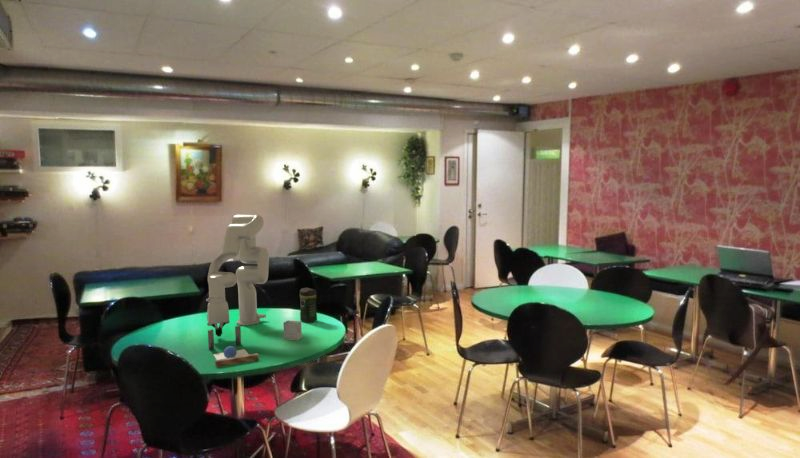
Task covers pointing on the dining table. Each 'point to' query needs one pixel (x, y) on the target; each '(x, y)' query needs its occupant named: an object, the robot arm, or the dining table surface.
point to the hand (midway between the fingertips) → (218, 335)
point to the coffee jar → (308, 305)
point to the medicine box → (292, 330)
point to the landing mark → (239, 353)
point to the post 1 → (211, 339)
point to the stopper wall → (236, 360)
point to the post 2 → (238, 335)
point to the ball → (230, 352)
